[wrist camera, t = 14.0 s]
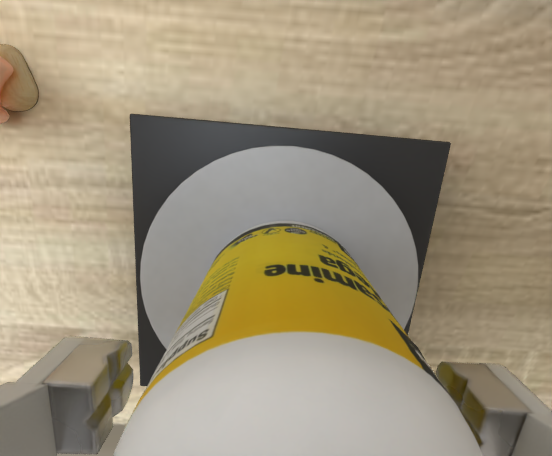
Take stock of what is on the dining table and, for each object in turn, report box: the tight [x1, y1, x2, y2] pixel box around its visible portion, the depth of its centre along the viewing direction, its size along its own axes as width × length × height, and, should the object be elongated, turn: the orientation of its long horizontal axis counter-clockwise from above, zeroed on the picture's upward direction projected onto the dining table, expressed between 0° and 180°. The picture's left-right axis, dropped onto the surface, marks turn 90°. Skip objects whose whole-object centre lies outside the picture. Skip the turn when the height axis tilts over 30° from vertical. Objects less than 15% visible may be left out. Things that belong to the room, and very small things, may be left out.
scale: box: [130, 114, 451, 386], centre depth 14 cm, size 13×13×4 cm
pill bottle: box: [113, 221, 483, 456], centre depth 7 cm, size 6×6×11 cm
